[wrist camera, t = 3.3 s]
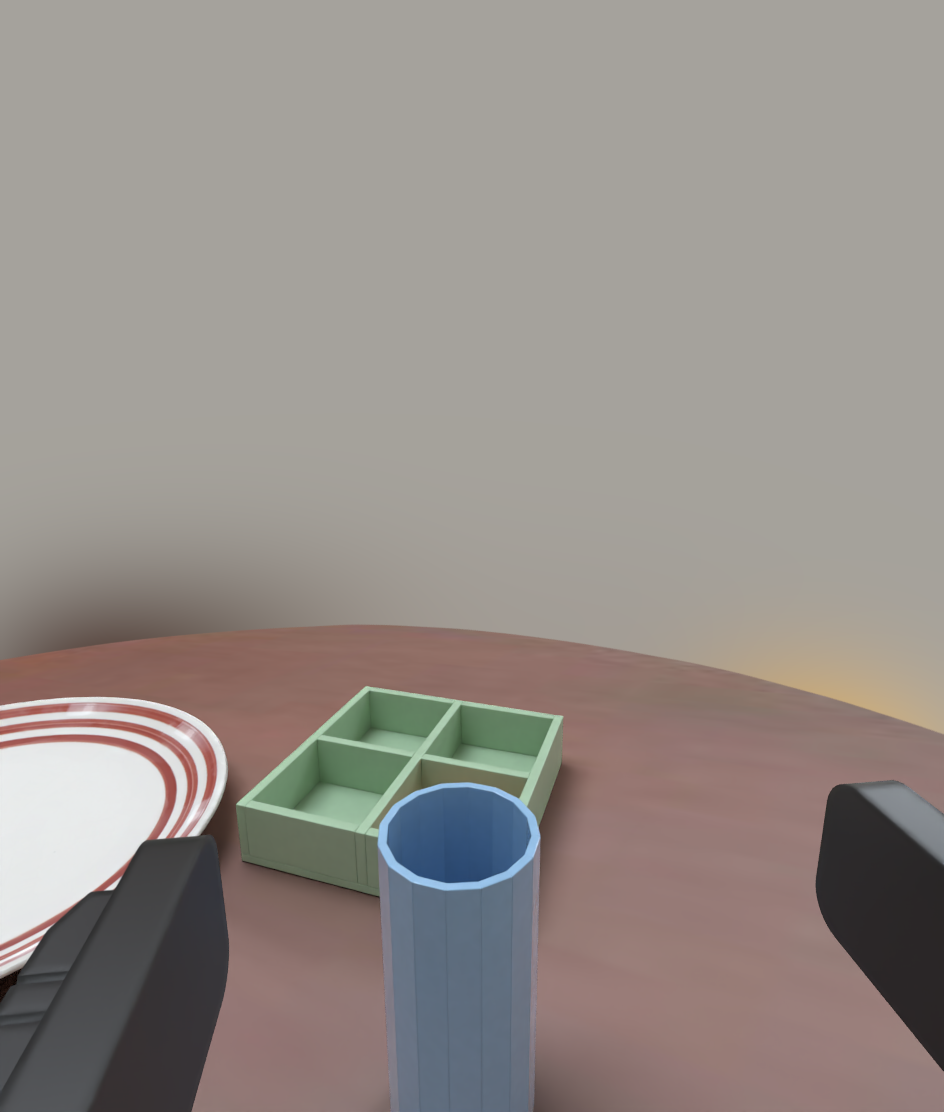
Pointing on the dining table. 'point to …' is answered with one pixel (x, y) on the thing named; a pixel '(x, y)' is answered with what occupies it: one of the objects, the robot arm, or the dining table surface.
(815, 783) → the dining table surface
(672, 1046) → the dining table surface
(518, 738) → the compartment tray
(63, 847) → the dinner plate
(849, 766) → the dining table surface
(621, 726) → the dining table surface
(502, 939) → the tumbler
